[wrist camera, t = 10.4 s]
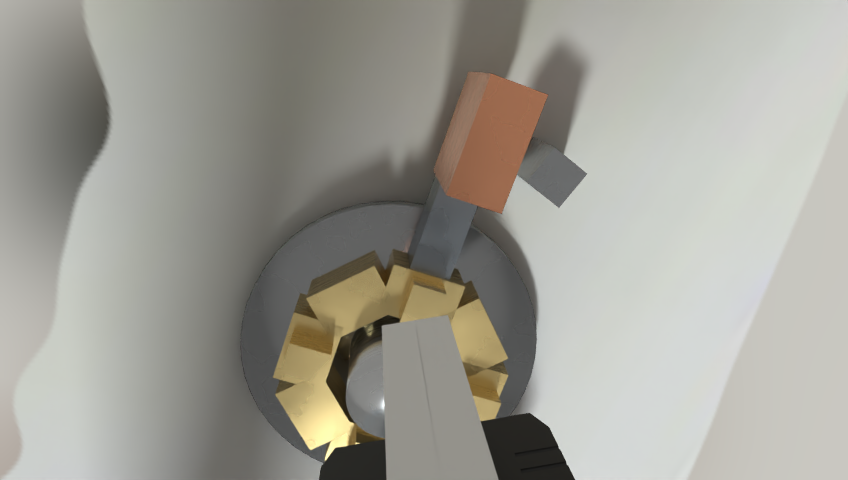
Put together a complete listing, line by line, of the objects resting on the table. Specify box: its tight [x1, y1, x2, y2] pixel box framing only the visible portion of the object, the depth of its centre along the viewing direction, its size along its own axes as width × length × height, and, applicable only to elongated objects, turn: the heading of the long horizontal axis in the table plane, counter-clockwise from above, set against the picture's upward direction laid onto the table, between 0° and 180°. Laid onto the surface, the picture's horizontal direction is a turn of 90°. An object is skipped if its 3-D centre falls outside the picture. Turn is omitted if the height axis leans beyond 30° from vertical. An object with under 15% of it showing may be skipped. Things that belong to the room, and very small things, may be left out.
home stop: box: [517, 137, 587, 207], centre depth 30 cm, size 2×2×4 cm
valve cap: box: [240, 201, 537, 463], centre depth 31 cm, size 16×16×6 cm
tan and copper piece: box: [273, 72, 548, 461], centre depth 29 cm, size 20×11×6 cm, turn 160°
